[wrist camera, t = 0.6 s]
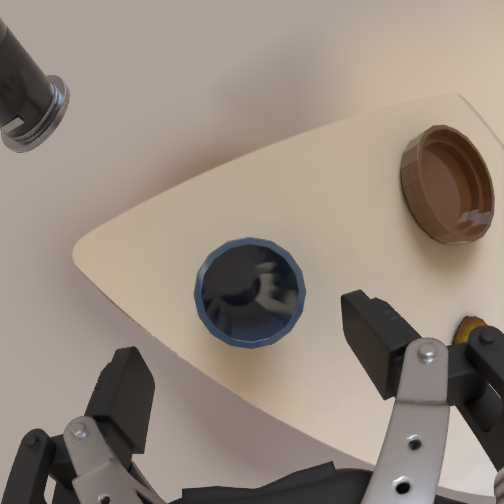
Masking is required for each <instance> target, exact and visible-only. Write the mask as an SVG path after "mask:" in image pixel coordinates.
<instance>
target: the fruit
mask: <svg viewBox="0 0 504 504" xmlns="http://www.w3.org/2000/svg"><path fill="white" fill-rule="evenodd" d="M461 323H462V324H461V326H460V328H459V329H458V332H457V334H456V335H455V336H454V344H459V343H463V342H467V340H468V336H469V333H470V332H471V330H472V329H474V328H475V327H478V326H482V325H487V324H486V323H485V322H484V320H483V319H480V318H478V317H476V316H474V317H471V316H470V317H468V316H466V317H465V318H464V319H463V321H462V322H461ZM454 344H453V345H454Z"/></svg>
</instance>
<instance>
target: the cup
mask: <svg viewBox="0 0 504 504" xmlns="http://www.w3.org/2000/svg"><path fill="white" fill-rule="evenodd" d="M305 296H306V289H305V284H304V279H303V275H302V271H301V269H300V268H299V266H298V265H297V263H296V262H295V260H294V259H293V257H292V256H291V254H290V253H289V252H287V251H286V250H284V249H283V248H281V247H280V246H278V245H277V244H275V243H274V242H272V241H269V240H264V239H258V238H253V237H246V238H242V239H237V240H232V241H228V242H226V243H225V244H223V245H222V246H220V247H219V248H218V249H216V250H215V251H213V252H212V253H210V255H209V256H208V257H207V259H206V260H205V262H204V263H203V265H202V266H201V268H200V270H199V271H198V273H197V278H196V283H195V289H194V299H195V303H196V308H197V312H198V316H199V318H200V319H201V320H202V322H203V323H204V325H205V326H206V327H207V329H208V330H209V331H210V333H211V334H212V335H214V336H215V337H217V338H218V339H220V340H222V341H223V342H225V343H227V344H228V345H231V346H236V347H242V348H249V349H254V348H258V347H263V346H267V345H271V344H273V343H275V342H277V341H278V340H279V339H281V338H282V337H284V336H285V335H286V334H288V333H289V332H290V331H291V330H292V329H293V327H294V325H295V324H296V322H297V321H298V319H299V318H300V316H301V314H302V312H303V307H304V301H305Z"/></svg>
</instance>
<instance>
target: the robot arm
mask: <svg viewBox="0 0 504 504" xmlns="http://www.w3.org/2000/svg"><path fill="white" fill-rule="evenodd" d="M56 101H57V88H56V86H55V85H54V84H53V82H52V81H50V80H49V79H48V78H47V76H46V75H45V74H44V73H43V71H42V70H41V69H40V68H39V66H38V65H37V64H36V63H35V61H34V60H33V59H32V58H31V56H30V55H29V54H28V53H27V51H26V50H25V49H24V48H23V46H22V45H21V44H20V43H19V41H18V40H17V39H16V37H15V36H14V35H13V34H12V32H11V31H10V30H9V28H8V27H7V26H6V25H5V23H4V22H3V21H2V19H1V18H0V130H1V131H2V132H4V133H5V134H6V135H7V136H8V137H10V138H11V139H13V140H23V139H25V138H28V137H29V136H31V135H32V134H34V133H35V132H36V131H37V130H38V129H39V128H40V127H41V126H42V125H43V124H44V123H45V122H46V120H47V119H48V117H49V116H50V114H51V113H52V111H53V109H54V106H55V104H56ZM341 309H342V321H343V331H344V335H345V338H346V341H347V343H348V344H349V346H350V347H351V349H352V350H353V352H354V354H355V355H356V357H357V358H358V360H359V361H360V363H361V365H362V366H363V368H364V369H365V371H366V372H367V374H368V376H369V377H370V379H371V380H372V382H373V384H374V385H375V387H376V388H377V390H378V392H379V393H380V395H381V396H382V398H383V400H387V399H389V398H391V397H393V396H394V397H395V399H396V400H395V403H394V406H393V410H392V414H391V418H390V422H389V425H388V429H387V432H386V436H385V439H384V442H383V445H382V449H381V452H380V455H379V458H378V461H377V464H376V466H375V469H374V472H373V471H370V470H364V469H354V468H342V469H335V467H334V464H333V461H331V462H328V463H325V464H321V465H318V466H315V467H311V468H308V469H304V470H300V471H297V472H294V473H292V474H290V475H287V476H285V477H283V478H281V479H279V480H276V481H275V482H272V483H270V484H267V485H265V486H263V487H260V488H256V489H248V488H233V487H221V486H212V487H203V488H186V489H182V498H180V499H177V500H174V501H173V502H170V503H168V504H467V503H463V502H460V501H456V500H452V499H449V498H445V497H442V496H439V495H436V491H437V487H438V482H439V478H440V473H441V469H442V464H443V458H444V452H445V446H446V440H447V432H448V424H449V414H450V406H453V405H455V406H456V407H457V409H458V410H459V412H460V413H461V415H462V416H463V418H464V419H465V421H466V422H467V424H468V425H469V427H470V428H471V430H472V431H473V433H474V434H475V436H476V437H477V439H478V441H479V442H480V444H481V445H482V447H483V449H484V450H485V452H486V453H487V455H488V457H489V458H490V460H491V462H492V463H493V465H494V467H495V468H496V470H497V472H498V473H497V475H496V478H495V481H494V496H495V497H496V499H497V500H496V504H504V334H503V333H502V332H501V331H500V330H499V329H497V328H495V327H493V326H488V325H482V326H478V327H475V328H474V329H472V330H471V332H470V333H469V336H468V340H467V342H463V343H459V344H454V345H450V346H446V345H445V344H444V343H442V342H441V341H439V340H437V339H434V338H422V337H421V336H420V335H419V334H418V333H417V332H416V331H415V330H414V329H413V328H412V327H411V326H410V325H409V324H408V322H407V321H406V320H405V319H404V318H403V317H401V315H399V314H398V313H397V312H396V311H395V310H394V309H393V308H392V307H391V306H390V305H389V304H388V303H387V302H385V301H383V300H380V299H378V298H373V299H370V298H369V297H368V296H367V295H366V294H365V293H364V292H363V291H362V290H356V291H353V292H350V293H347V294H344V295H342V296H341ZM489 384H490V385H491V386H492V387H493V388H492V387H491V386H490V385H489ZM94 389H95V391H93V393H92V396H91V399H90V401H89V403H88V406H87V409H86V411H85V414H84V416H81V417H78V418H76V419H74V420H72V421H71V422H70V423H69V424H68V425H67V426H66V428H65V430H64V434H61V435H58V436H54V437H49V436H48V435H47V434H46V433H45V432H44V431H43V430H42V429H33V430H31V431H29V432H28V433H27V434H26V435H25V436H24V437H23V439H22V441H21V444H20V447H19V449H18V452H17V455H16V457H15V461H14V463H13V466H12V469H11V472H10V475H9V478H8V481H7V485H6V488H5V491H4V495H3V498H2V503H1V504H47V503H46V501H45V498H44V490H45V487H46V482H47V478H48V475H49V476H50V477H51V478H52V479H54V480H55V481H56V486H55V490H54V495H53V500H52V504H167V503H166V502H164V501H163V500H162V499H161V498H160V497H159V496H158V495H157V493H156V492H155V491H154V489H153V488H152V487H151V485H150V484H149V483H148V481H147V480H146V479H145V477H144V476H143V475H142V473H141V472H140V470H139V469H138V467H137V466H136V465H135V463H134V462H133V461H132V460H131V459H132V454H144V450H145V443H146V437H147V431H148V424H149V419H150V413H151V407H152V402H153V396H154V390H155V383H154V378H153V376H152V374H151V372H150V371H149V369H148V367H147V365H146V363H145V362H144V360H143V358H142V356H141V354H140V352H139V351H138V349H137V348H136V347H134V346H132V347H127V348H122V349H117V350H116V351H115V354H114V356H113V359H112V361H111V363H108V364H107V366H106V367H105V368H104V369H103V370H102V371H101V374H100V376H99V378H98V383H96V386H95V388H94ZM493 389H494V390H495V391H496V392H497V393H496V392H495V391H494V390H493ZM497 394H498V395H499V396H500V397H501V398H500V397H499V396H498V395H497ZM501 399H502V400H501Z"/></svg>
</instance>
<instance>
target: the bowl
mask: <svg viewBox="0 0 504 504" xmlns="http://www.w3.org/2000/svg"><path fill="white" fill-rule="evenodd" d="M401 175H402V184H403V190H404V193H405V196H406V199H407V202H408V205H409V207H410V209H411V211H412V213H413V215H414V216H415V218H416V220H417V221H418V223H419V224H420V226H421V227H422V228H423V229H424V230H425V231H426V232H427V233H428V234H429V235H430V236H431V237H432V238H434V239H436V240H438V241H440V242H442V243H444V244H460V243H467V242H474V241H475V240H477V239H479V238H481V237H483V236H484V234H485V233H486V232H487V230H488V229H489V227H490V225H491V222H492V218H493V215H494V201H495V198H494V190H493V184H492V180H491V177H490V174H489V171H488V168H487V165H486V163H485V162H484V160H483V158H482V156H481V154H480V153H479V151H478V150H477V148H476V147H475V146H474V145H473V144H472V142H471V141H470V140H469V139H468V138H467V137H466V136H464V135H463V134H462V133H461V132H459V131H458V130H456V129H454V128H451V127H449V126H446V125H436V126H432V127H430V128H429V129H428V130H426V131H425V132H423V133H422V134H420V135H419V136H418V137H416V138H415V139H413V140H412V141H411V142H410V143H409V144H408V146H407V148H406V150H405V151H404V153H403V158H402V165H401Z"/></svg>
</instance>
